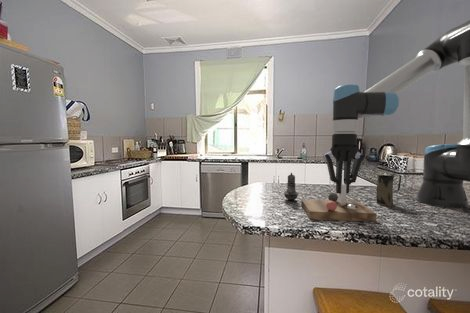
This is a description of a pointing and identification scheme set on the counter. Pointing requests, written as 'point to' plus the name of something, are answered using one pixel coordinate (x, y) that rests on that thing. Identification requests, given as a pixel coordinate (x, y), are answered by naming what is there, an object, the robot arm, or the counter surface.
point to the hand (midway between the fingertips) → (341, 202)
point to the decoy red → (331, 205)
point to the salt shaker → (291, 190)
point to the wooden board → (337, 211)
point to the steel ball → (351, 206)
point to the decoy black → (333, 197)
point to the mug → (386, 189)
